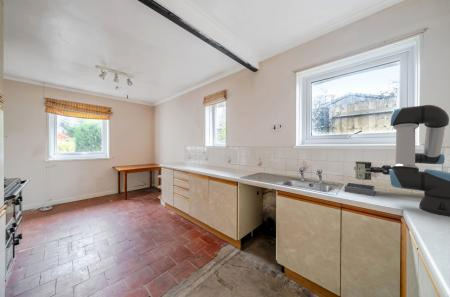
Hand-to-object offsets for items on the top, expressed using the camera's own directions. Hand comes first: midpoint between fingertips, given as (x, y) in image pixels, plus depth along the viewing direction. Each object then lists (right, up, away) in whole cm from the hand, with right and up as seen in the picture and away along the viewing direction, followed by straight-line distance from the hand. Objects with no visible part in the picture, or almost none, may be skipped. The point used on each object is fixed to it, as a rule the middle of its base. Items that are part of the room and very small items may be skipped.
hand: (357, 169), depth 138 cm
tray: (+2, -18, -1) cm, 18 cm away
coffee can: (+4, -8, -1) cm, 9 cm away
